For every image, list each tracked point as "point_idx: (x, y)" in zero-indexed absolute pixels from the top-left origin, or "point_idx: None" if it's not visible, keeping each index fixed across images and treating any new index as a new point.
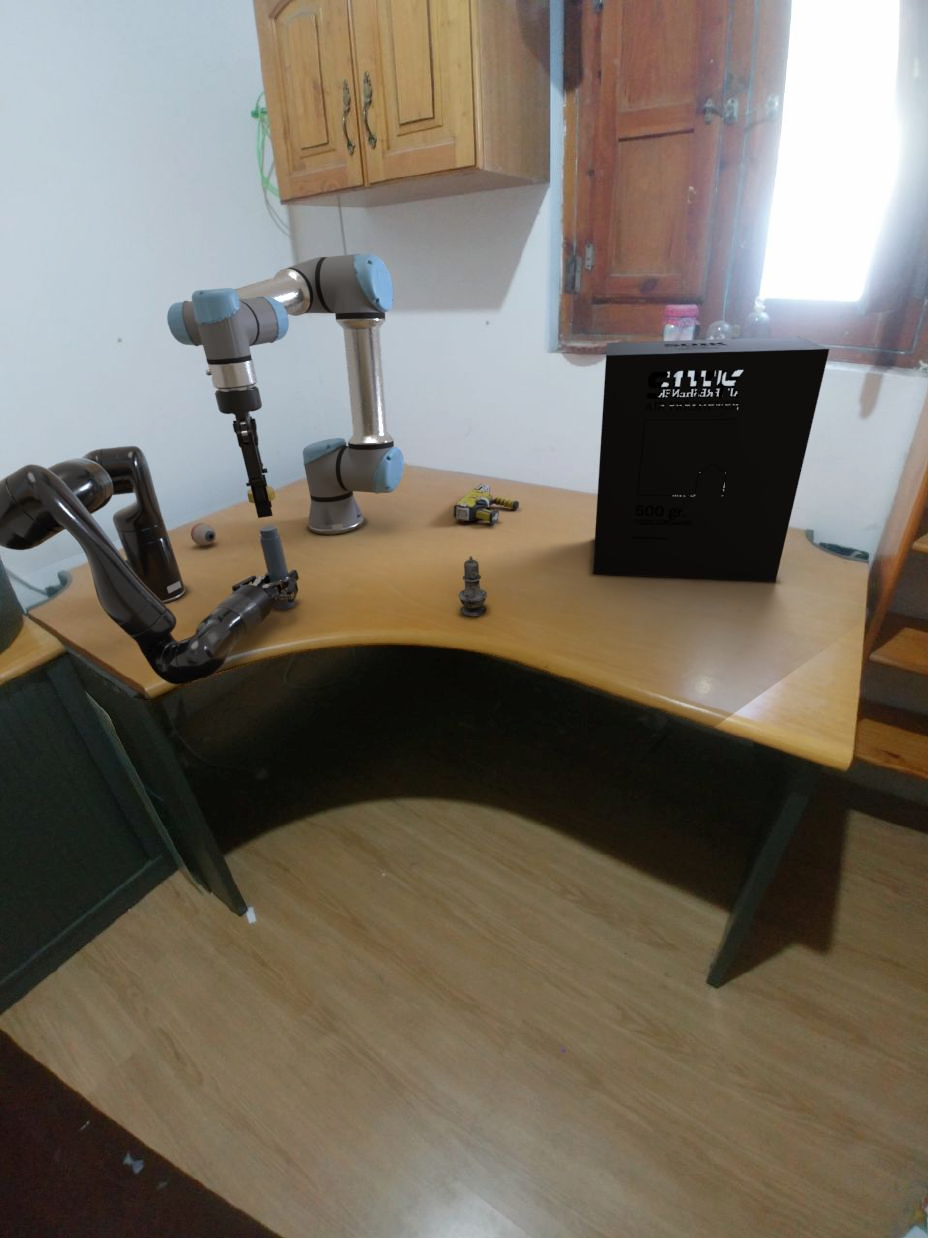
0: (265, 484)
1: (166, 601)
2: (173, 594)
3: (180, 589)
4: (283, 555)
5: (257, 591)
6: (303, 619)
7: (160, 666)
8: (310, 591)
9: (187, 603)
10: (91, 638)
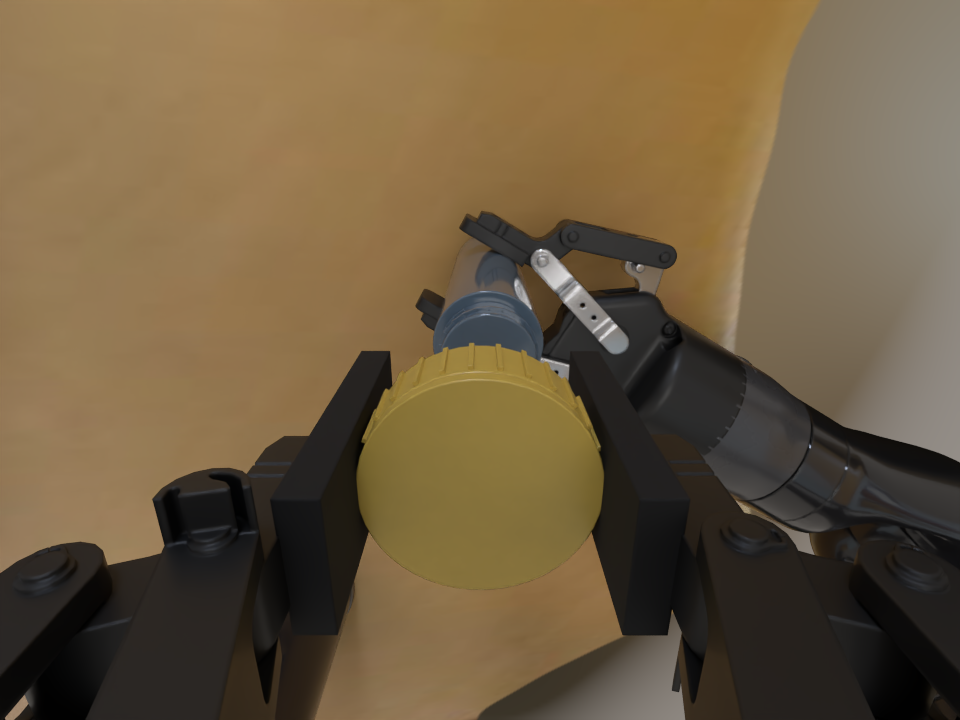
0: (659, 486)
1: None
2: None
3: None
4: (506, 271)
5: (701, 374)
6: (611, 212)
7: None
8: (410, 173)
9: None
10: (477, 688)
